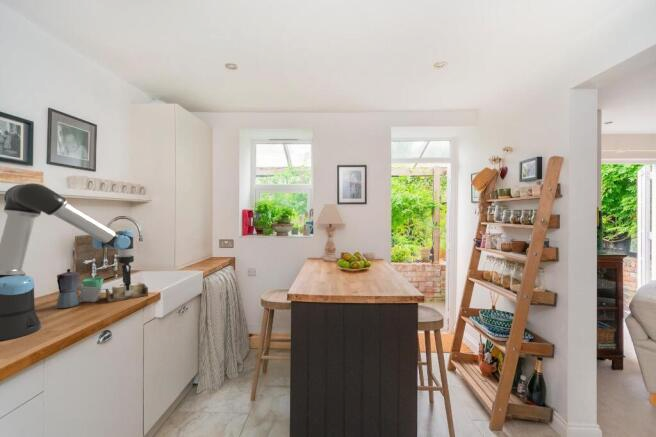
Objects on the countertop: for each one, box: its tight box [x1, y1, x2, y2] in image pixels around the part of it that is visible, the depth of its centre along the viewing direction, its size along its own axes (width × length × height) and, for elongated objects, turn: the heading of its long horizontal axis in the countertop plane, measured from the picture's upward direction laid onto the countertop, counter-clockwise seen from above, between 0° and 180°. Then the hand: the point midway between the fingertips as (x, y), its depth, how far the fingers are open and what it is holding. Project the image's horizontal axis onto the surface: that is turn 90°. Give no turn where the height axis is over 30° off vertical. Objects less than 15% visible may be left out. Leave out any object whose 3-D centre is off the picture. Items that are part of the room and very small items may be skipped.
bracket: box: [77, 284, 102, 304], centre depth 161 cm, size 11×4×10 cm, turn 100°
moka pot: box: [56, 268, 80, 309], centre depth 152 cm, size 10×15×20 cm, turn 20°
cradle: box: [105, 282, 149, 304], centre depth 168 cm, size 19×14×5 cm
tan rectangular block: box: [111, 282, 143, 299], centre depth 169 cm, size 14×5×6 cm, turn 132°
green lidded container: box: [81, 276, 104, 291], centre depth 174 cm, size 15×10×10 cm
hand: (127, 294), depth 168 cm, fingers closed on tan rectangular block, 5 cm apart
